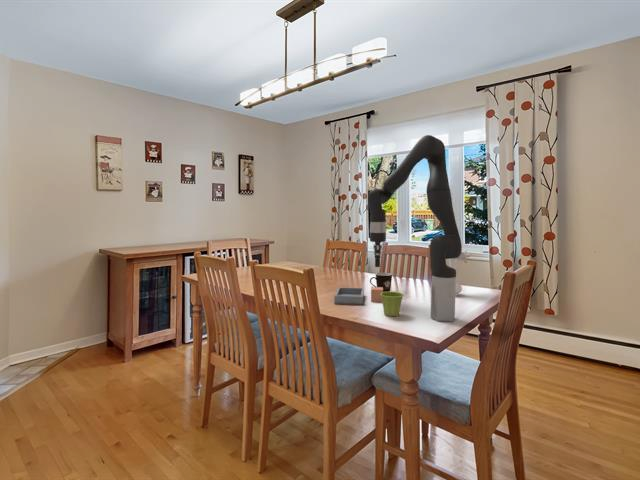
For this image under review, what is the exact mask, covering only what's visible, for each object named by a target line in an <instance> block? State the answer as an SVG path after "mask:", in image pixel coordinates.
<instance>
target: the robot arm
mask: <svg viewBox="0 0 640 480" xmlns="http://www.w3.org/2000/svg"><path fill="white" fill-rule="evenodd" d="M446 157H447V156H446V145H445V143H444V142H443V141H442V140H441V139H439V138H437V137H435V136H433V135H429V134H426V135H423V136H422V137H421V138H419V140H418V141H417V142H416V143H415V145H414V146H413V147H412V149H411V150H410V151H409V153H407V154H406V157H405V158H404V159H403V160H402V161H401V163H400V164H399V165H398V166H397V168H395V170H393V171H392V172H391V173H390V174H389V175H388V176H387V177H386V178H385V179H384V180H383V183H382V184H383V186H382V187H381V188H372V189H371V190H370V191H369V192H368V194H367V195H368V196H367V203H368V207H369V212H370V224H369V225H370V226H369V241H370V243H371V242H372V243H374V244H373V255H374V267H375V268H380V267H381V258H382V257H381V256H382V250H383V245H381V243H384V242H385V243H386V242H387V225H386V224H387V222H386V220H387V218H386V217H387V213H386V211H385V209H383V207H382V205H383V204H386V203H387V202H388V201H390V199H391V198H392V197H393V195H394V194H395V192H396V191H397V190H399V188H400V187H402V186H403V185H404V184H405V183H406V182H407V180H408V179H409V177H410V175H411V173H412V171H413V169H414V168H415V167H416V166H417V164H419V163H420V162H421V161H422V160H423V159H425V160H426V161H427V164H428V168H429V169H428V170H429V176H428V177H429V178H428V181H427V185H426V197H427V198H426V199H427V203H428V204H427V205H428V207H429V209H430V211H431V212H432V214H433V215H434V217H435V218H436V219H437V220H438V221H439V223H440V225H441V227H442V230H443V235H435V236H433V237H432V238H431V240H430V242H429V243H430V245H429V260H430V261H429V262H430V265H429V266H430V271H431V284H430V286H431V287H430V288H431V289H430V318H431V319H432V320H435V321H436V322H453V321H455V319H456V317H455V316H456V296H455V294H456V279H457V269H456V270H455V269H454V268H451V267H450V265H447V261H446V260H449V259H452V258H458V257H459V256H460V254H461V251H462V245H463V244H462V241H461V236H460V231H459V228H458V225H457V222H456V217H455V213H454V206H453V198H452V193H451V187H450V181H449V177H448V176H449V175H448V172H447V171H448V169H447V161H446V160H447V159H446ZM462 252H463V251H462Z"/></svg>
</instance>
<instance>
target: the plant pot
mask: <svg viewBox="0 0 640 480" xmlns="http://www.w3.org/2000/svg"><path fill="white" fill-rule="evenodd" d="M380 295H381V296H382V300H383V302H382V307H383V314H384V315H385V316H387V317H398V316H400V312H401V311H400V310H401V305H402V300H403V297H404V293H401V292H397V291H390V292H382V293H380Z"/></svg>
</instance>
